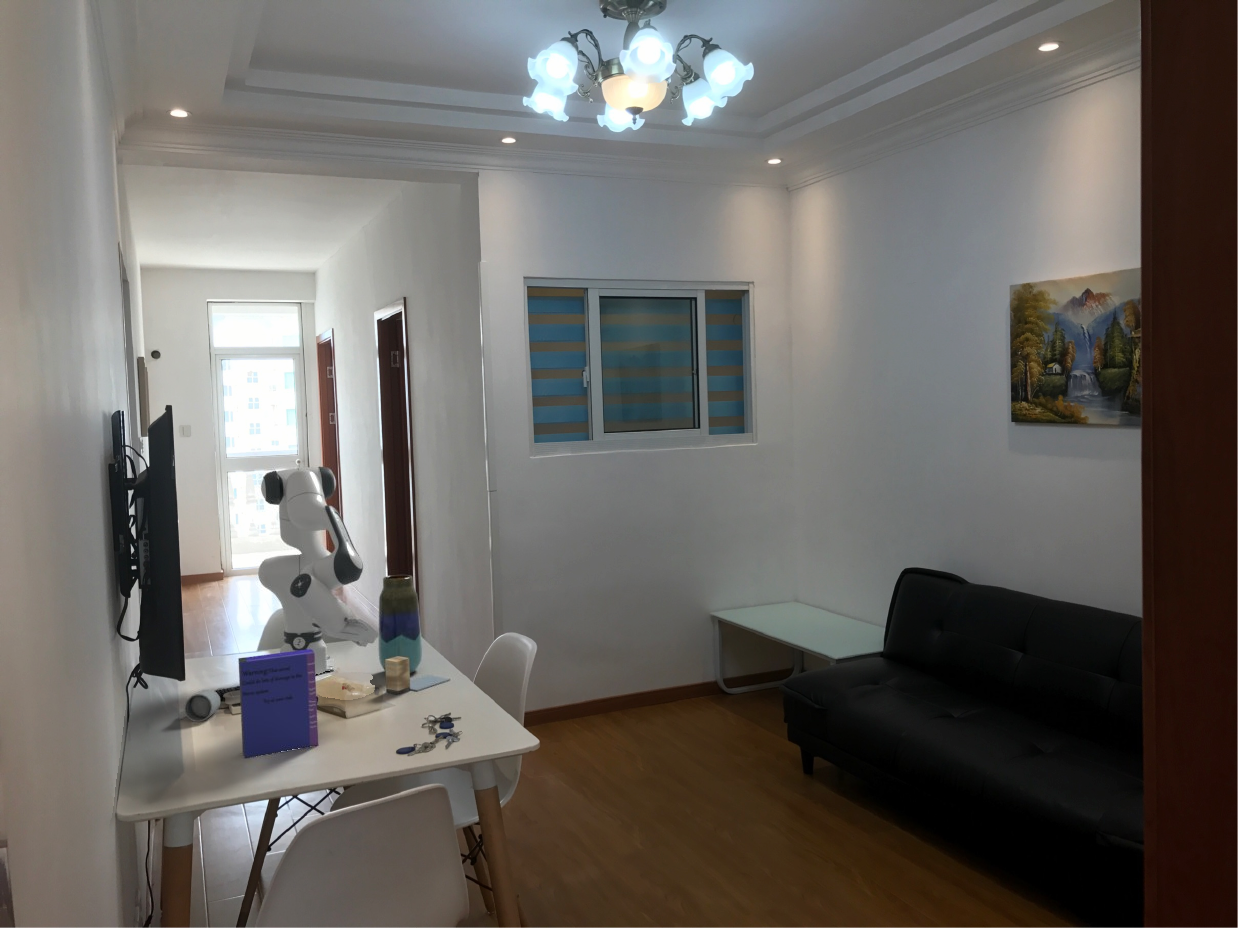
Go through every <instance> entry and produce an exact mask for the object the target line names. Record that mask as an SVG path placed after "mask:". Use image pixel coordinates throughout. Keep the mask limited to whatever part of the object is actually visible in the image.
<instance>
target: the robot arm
mask: <svg viewBox="0 0 1238 928" xmlns="http://www.w3.org/2000/svg"><path fill="white" fill-rule="evenodd" d="M336 487H337V480H336V477H335V474H334V473H333V471H332V469H330V468H329V467H327V466H318V467H314V466H313V467H311V466H310V467H307V466H306V467H304V466H303V467H296V468H295V467H294V468H288V469H283V470H282V469H281V470H272V471H269V472H267V473H265V475H264V476H263V477H262V481H261V484H260V491H261V494H262V497H263V498H264V500H265V502H266V503H267V504H269V505H273V506H274V505H276V506H279V507H278V513H279V514H278V515H279V516H278V517H279V530H280V531H279V534H280V539H281V540H282V541H283V543H284V544H286V545H287V546H289V547H292V548H294V549H296V550H298V551H300V554H288V555H287V554H285V555H284V554H282V555H276V556H271V557H269V558H265V559H263V561H262V562H261V563H260V565H259V568H258V573H257V574H258V575H257V576H258V579H259V582H260V584H261V585H262V586H263V587H264V588H265V589H267V590H269V591H270V592H271V593H272V594H274V595H275V597H276V598H277V599H278V601H279V602H280V604H281V608H282V611H283V619H284V631H283V642H284V644H283V645H282V646H281V647H280V649H279V653H284V652H292V651H299V650H307V649H312V650H313V651H314V655H315V676H317V675H316V674H318V675H321V674H320V673H322V674H324V673H323V672H325V671H329V670H333V669H334V670H335V659H334V657H330V656H329V655H328V647H327V644H326V642H325V641H324V640H323V638H324V637H323V634H324V635H325V636H328V637H330V638H335V639H336V638H337V639H342V640H347V641H351V642H352V643H354V644H356V646H358V647H363V648H366V647H367V645H368V644H374V643H375V641H376V639H378V637H379V630H377V629H376V628H375V627H373V626H372V625H371V624H370V623H368V622H367V621H366V620H364V619H362V618H357V617H356V618H355V617H352V611H351V609H350V608H349V607H348V606H347V605H346V604H345V603H344V602H343V601H342V600H341V599H340V598H339V597H337V596H335V595H334V593H333V591H335V590H337V589H339V588H341V587H343V586H346V585H350V584H352V583H354V582H356V581H359V580H360V579H361V578H360V577H361V575H362V574H363V570H364V564H363V563H364V562H363V561H362V559H361V557H360V555H359V553H358V552H357V550H356V548H355V546H354V543H353V541H352V539H351V537H350V533H349V532H348V530H347V527H346V525H345V522H344V520H343V518H342V516H341V514H340V512H339V511H338V510H337V509H336V508H335V507H334V506H333V505H328V504H327V502H326V500H327V499H330V498H331V497H332V496H333V495H334V494H335V491H336ZM318 531H328V532H329V536H330V538H331V540H332V543H333V545H334V550H333V551H332V552H330V551H329V550H328V549H326V548H325V546H324V545H323V544H322V542H321V541H320V538H319V534H318ZM325 673H326V672H325Z"/></svg>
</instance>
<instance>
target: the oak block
mask: <svg viewBox="0 0 1238 928" xmlns="http://www.w3.org/2000/svg"><path fill="white" fill-rule="evenodd" d="M385 670H386V671H385ZM385 670H384V671H385V689H386V690H385V691H386V694H391V695H397V696H399V695H402V694H405V693H409V692H410V691H411V690H410V680H411V675H410V674H411V673H410V669H409V658H405V657H400V656H397V657H393V658H390V659H386V660H385Z"/></svg>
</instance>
